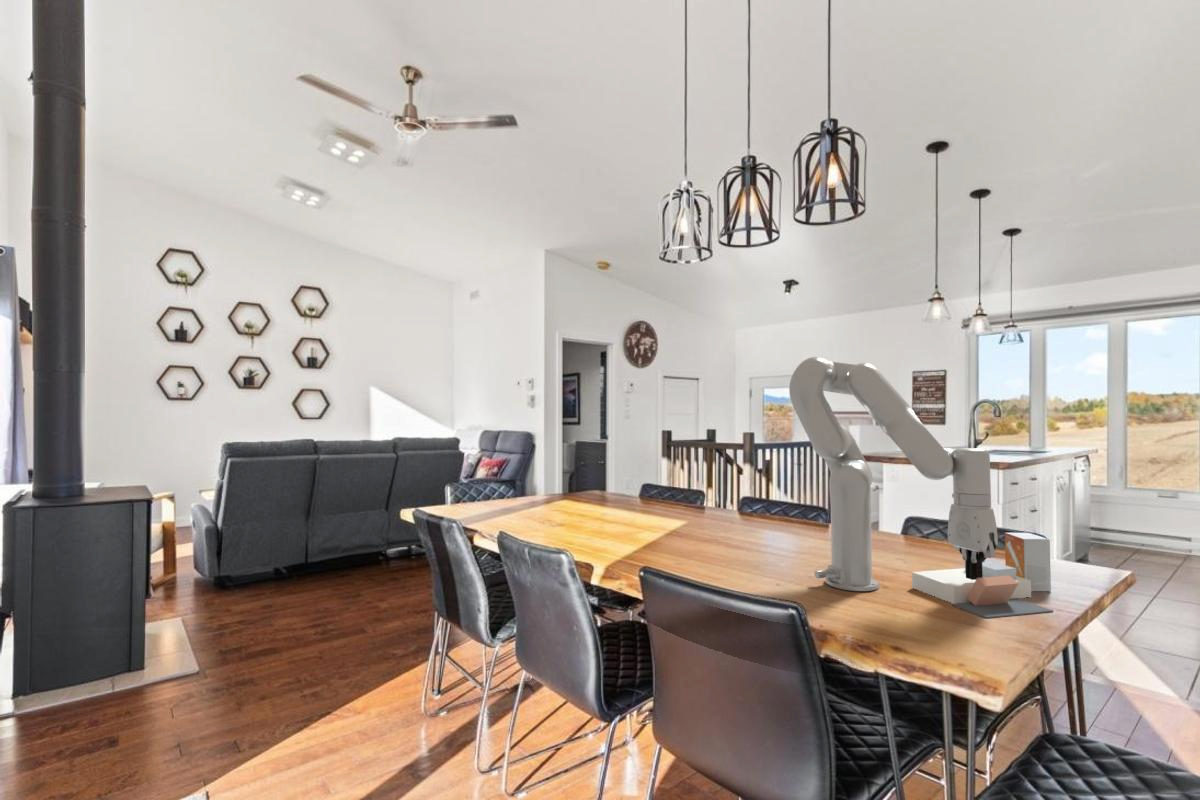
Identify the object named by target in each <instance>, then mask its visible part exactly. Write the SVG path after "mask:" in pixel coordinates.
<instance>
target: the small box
mask: <svg viewBox="0 0 1200 800" xmlns="http://www.w3.org/2000/svg"><path fill="white" fill-rule="evenodd" d="M1050 541H1051V540H1050V539H1049V538H1047V537H1046V538H1045V537H1044V536H1040V535H1037V534H1034V533H1030V532H1004V548H1005V549H1004V550H1005V552H1004V553H1005V554H1004V557H1005V563H1004V565H1006V566H1010V567H1013V568H1016V576H1017V577H1021V578H1024V579H1028V580H1031V592H1034V591H1049V592H1050V591H1051V592H1052V584H1051V583H1052V582H1051V579H1052V578H1051V547H1050V545H1051V544H1050V543H1051V542H1050ZM1049 592H1048V593H1049Z"/></svg>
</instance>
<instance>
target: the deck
mask: <svg viewBox="0 0 1200 800" xmlns="http://www.w3.org/2000/svg"><path fill="white" fill-rule="evenodd" d="M983 578H984V576H983ZM1014 580H1015V581H1016V582H1017V583H1018V585H1017V587H1016V589H1015V591H1014V592H1013V594H1012V596H1011V598H1010V599H1013V598H1018V599H1027V598H1026V597H1029V598H1032V591H1031V580H1028V579H1024V578H1021V577H1017V576H1016V579H1014ZM975 581H976V580H971V579H968V578H966V571H965V567H964V568H962V567H961V568H951V569H948V568H947V569H936V570H924V571H912V572H911V587H912V589H913V588H914V590H916V589H917V590H916V591H918V590H919V592H921V591H922V592H921V593H923V594H926V593H927V594H926V595H929V594H930V595H929V596H931V595H932V597H934V596H935V598H937V599H939V598H940V600H942V601H944V600H945V602H947V601H948V602H947V603H950V602H951V603H950V604H952V603H953V604H957V603H968V602H971V601H970V600H969V599H968V598H967V596H968V595H969V593H970V591H971V589H972V587H973V585H974V583H975Z"/></svg>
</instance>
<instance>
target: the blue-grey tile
mask: <svg viewBox="0 0 1200 800" xmlns="http://www.w3.org/2000/svg"><path fill="white" fill-rule="evenodd" d="M964 568H965V571H966V565H965V564H964ZM982 574H983V576H984V577H997V576H1009V575H1010V576H1011V577H1012V578H1013V579H1016V568H1013V567H1010V566H1006V565H1005V564H1002V563H999V562H994V561H991V560H987V559H985V562H982Z"/></svg>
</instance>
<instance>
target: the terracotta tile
mask: <svg viewBox="0 0 1200 800" xmlns="http://www.w3.org/2000/svg"><path fill="white" fill-rule="evenodd" d="M1017 585H1018V583H1017V582H1016V581H1015V580H1014V579H1013V578H1012V577H1011V576H1010V575H1009V576H997V577H984V578H977V579H976V581H975V583H974V585H973V587H972V589H971V591H970V593H969V595H968V596H967V598H968V599H969V600H970V601H971V602H972V603H973V604H974V605H975V606H979V605H990V604H1001V603H1008V601H1009V599H1010V598H1011V596H1012V594H1013V592H1014V591H1015V589H1016V587H1017Z"/></svg>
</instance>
